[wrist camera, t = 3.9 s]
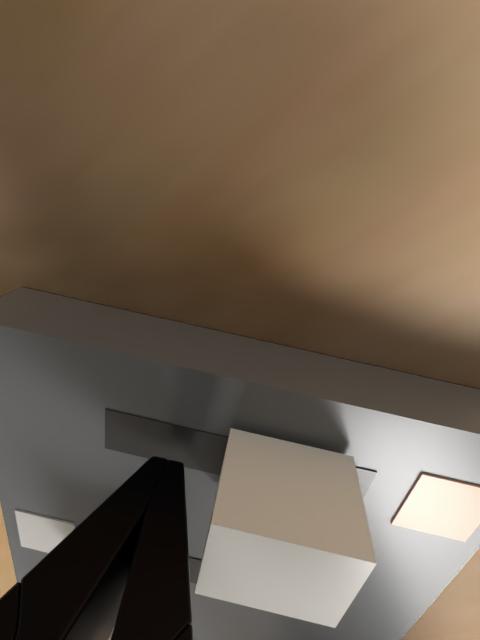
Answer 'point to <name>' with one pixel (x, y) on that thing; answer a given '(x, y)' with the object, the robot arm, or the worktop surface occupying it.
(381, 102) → the worktop surface
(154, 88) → the worktop surface
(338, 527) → the tab
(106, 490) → the switch panel
